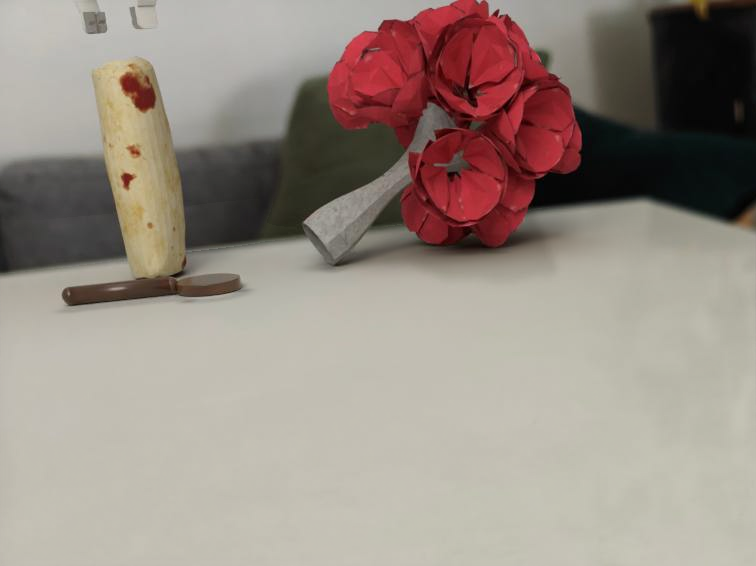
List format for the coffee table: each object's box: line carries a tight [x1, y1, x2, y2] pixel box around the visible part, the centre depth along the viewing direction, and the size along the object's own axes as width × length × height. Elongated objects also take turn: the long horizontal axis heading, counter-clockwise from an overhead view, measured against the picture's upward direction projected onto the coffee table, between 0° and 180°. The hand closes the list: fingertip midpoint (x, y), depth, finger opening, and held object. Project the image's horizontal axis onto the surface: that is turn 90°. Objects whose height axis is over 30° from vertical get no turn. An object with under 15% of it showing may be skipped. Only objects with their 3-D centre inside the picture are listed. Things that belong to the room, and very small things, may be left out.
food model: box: [90, 55, 187, 280], centre depth 111 cm, size 10×7×20 cm
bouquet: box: [301, 0, 583, 266], centre depth 114 cm, size 22×24×30 cm
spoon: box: [61, 272, 242, 306], centre depth 105 cm, size 16×6×2 cm, turn 104°
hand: (120, 31), depth 105 cm, fingers open, 8 cm apart
